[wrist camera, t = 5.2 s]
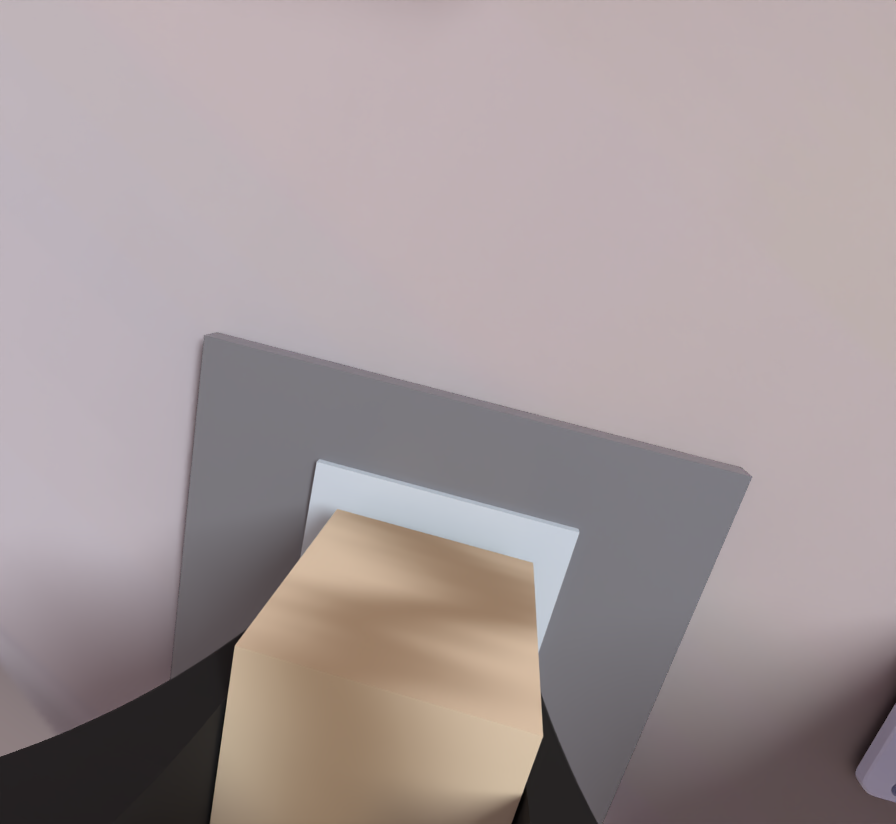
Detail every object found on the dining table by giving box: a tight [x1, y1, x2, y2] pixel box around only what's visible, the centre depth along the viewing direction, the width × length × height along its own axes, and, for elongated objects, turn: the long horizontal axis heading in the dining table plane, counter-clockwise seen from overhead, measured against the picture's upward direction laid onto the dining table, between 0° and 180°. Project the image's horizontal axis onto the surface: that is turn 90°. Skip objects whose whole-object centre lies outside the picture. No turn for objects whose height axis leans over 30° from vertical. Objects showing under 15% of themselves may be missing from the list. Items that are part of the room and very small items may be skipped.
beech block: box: [210, 509, 543, 824], centre depth 11 cm, size 5×5×5 cm
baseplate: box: [170, 333, 752, 824], centre depth 15 cm, size 14×12×1 cm
